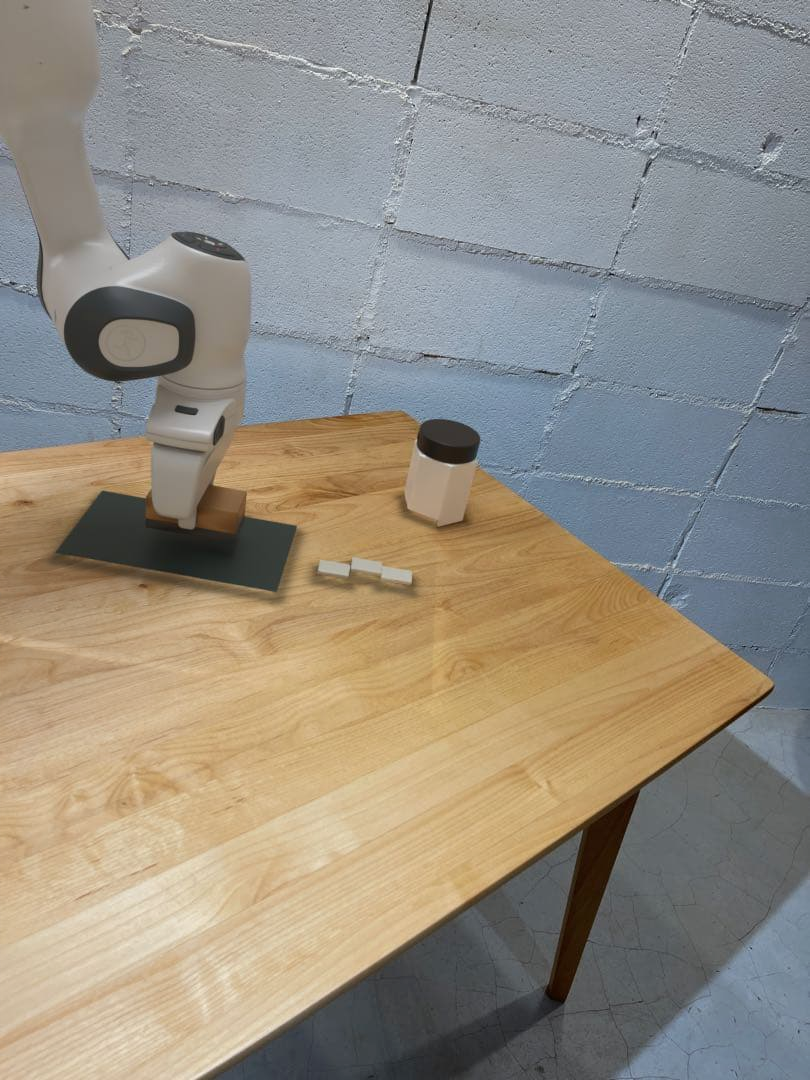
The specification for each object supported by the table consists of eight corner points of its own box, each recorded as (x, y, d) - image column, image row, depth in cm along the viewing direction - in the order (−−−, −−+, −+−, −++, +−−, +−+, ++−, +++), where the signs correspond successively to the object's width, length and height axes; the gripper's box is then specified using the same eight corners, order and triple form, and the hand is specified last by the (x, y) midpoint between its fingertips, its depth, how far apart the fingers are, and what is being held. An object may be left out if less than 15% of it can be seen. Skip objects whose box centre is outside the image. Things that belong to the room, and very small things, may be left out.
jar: (438, 490, 117) (456, 414, 111) (474, 519, 112) (495, 441, 106) (389, 501, 112) (404, 422, 106) (424, 531, 107) (443, 450, 101)
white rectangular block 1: (315, 581, 93) (317, 570, 93) (318, 570, 96) (320, 559, 95) (346, 587, 94) (348, 576, 93) (348, 575, 96) (350, 564, 95)
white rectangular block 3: (411, 582, 94) (409, 593, 95) (412, 570, 96) (409, 581, 97) (381, 577, 94) (378, 588, 95) (382, 565, 96) (379, 576, 97)
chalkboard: (55, 561, 88) (54, 552, 87) (102, 498, 100) (102, 490, 99) (275, 600, 89) (276, 591, 89) (296, 533, 101) (297, 525, 100)
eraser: (145, 527, 90) (145, 496, 88) (159, 505, 95) (159, 475, 92) (234, 543, 91) (237, 513, 89) (244, 520, 95) (247, 491, 93)
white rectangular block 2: (348, 579, 95) (350, 568, 94) (350, 567, 97) (352, 556, 96) (379, 584, 95) (381, 573, 95) (380, 572, 97) (382, 561, 97)
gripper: (197, 358, 93) (192, 464, 100) (139, 432, 76) (138, 554, 83) (252, 368, 93) (243, 473, 101) (206, 445, 76) (200, 565, 83)
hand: (195, 511), depth 92 cm, fingers closed on eraser, 5 cm apart
